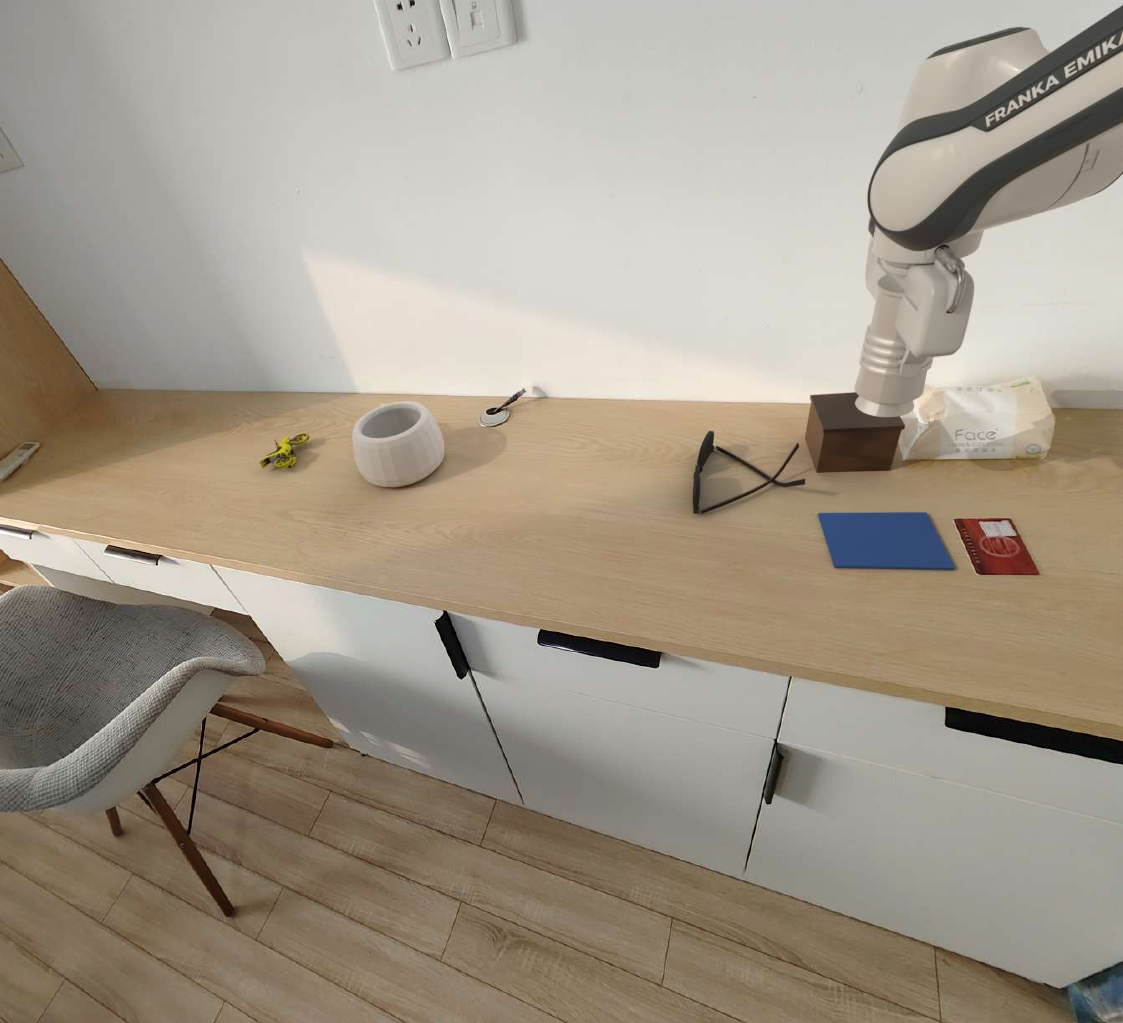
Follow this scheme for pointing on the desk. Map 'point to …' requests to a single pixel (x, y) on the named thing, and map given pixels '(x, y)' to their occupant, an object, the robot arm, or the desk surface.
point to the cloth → (884, 541)
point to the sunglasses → (709, 447)
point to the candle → (886, 360)
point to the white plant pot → (397, 444)
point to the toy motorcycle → (284, 452)
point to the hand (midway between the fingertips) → (895, 357)
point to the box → (849, 435)
